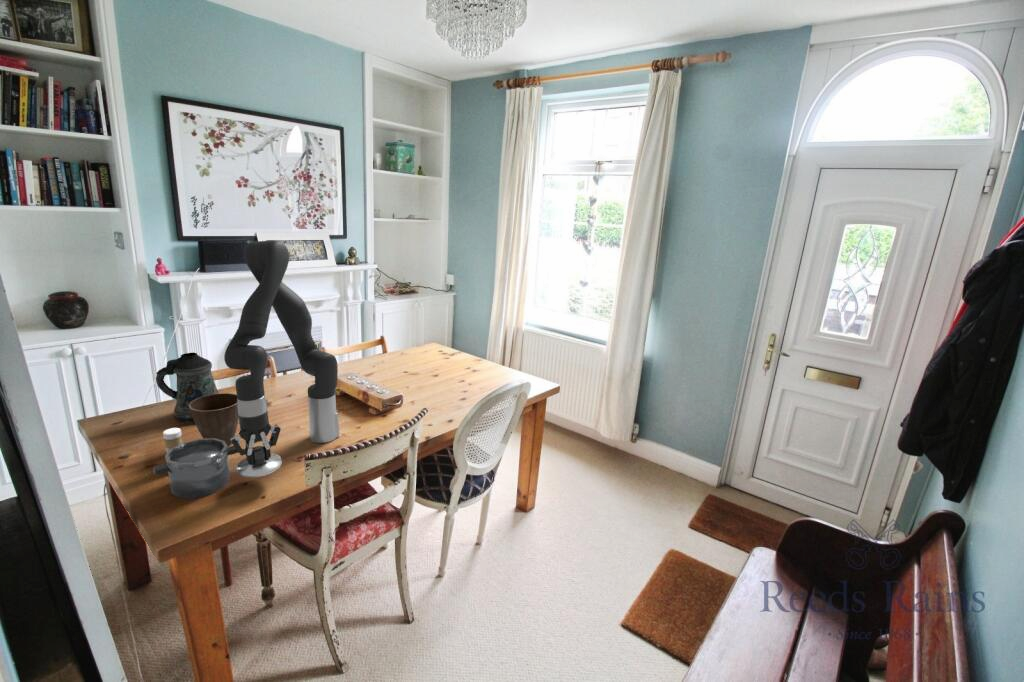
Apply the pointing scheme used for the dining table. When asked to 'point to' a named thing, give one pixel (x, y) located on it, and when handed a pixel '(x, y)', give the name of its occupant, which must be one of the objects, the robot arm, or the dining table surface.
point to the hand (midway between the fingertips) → (259, 461)
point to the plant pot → (216, 416)
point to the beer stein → (187, 383)
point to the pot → (197, 467)
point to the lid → (259, 464)
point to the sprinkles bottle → (172, 438)
